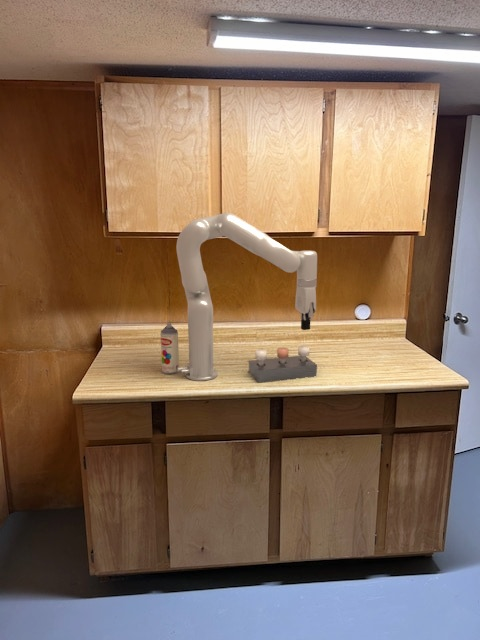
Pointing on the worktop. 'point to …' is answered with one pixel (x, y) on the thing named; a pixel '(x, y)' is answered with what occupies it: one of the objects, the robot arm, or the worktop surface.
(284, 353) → the middle knob
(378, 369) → the worktop surface
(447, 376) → the worktop surface
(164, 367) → the aerosol can
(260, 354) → the near knob
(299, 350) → the far knob
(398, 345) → the worktop surface
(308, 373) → the knob panel
